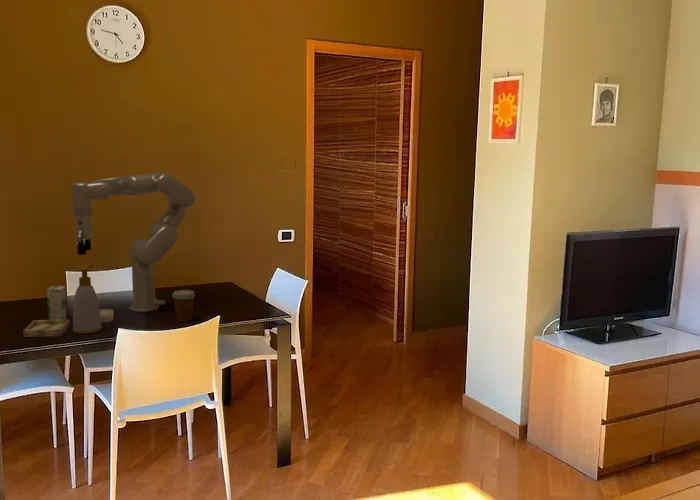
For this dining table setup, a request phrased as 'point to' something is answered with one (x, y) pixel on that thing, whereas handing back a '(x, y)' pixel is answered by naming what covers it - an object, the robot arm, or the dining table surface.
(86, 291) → the soap bottle
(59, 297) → the syrup box
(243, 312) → the dining table surface
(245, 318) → the dining table surface
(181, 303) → the disposable coffee cup
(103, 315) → the cream dome
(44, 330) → the tray
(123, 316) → the dining table surface
